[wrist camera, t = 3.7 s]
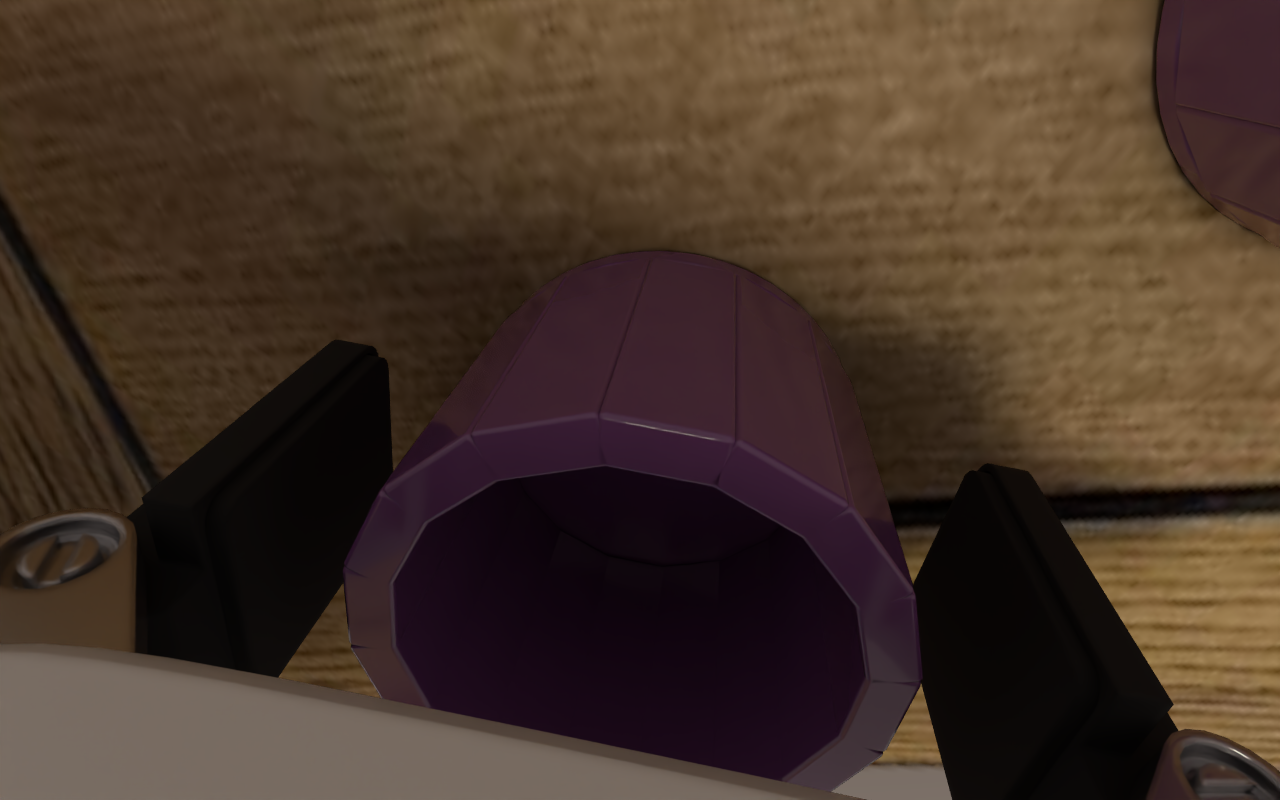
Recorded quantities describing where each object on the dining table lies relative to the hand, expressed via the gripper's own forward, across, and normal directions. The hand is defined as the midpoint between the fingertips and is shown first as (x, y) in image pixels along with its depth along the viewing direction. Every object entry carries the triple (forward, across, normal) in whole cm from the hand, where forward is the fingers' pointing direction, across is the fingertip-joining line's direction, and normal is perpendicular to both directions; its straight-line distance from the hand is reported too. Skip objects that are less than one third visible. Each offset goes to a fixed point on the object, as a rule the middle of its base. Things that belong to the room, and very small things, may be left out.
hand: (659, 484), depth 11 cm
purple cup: (+2, 0, 0) cm, 2 cm away
